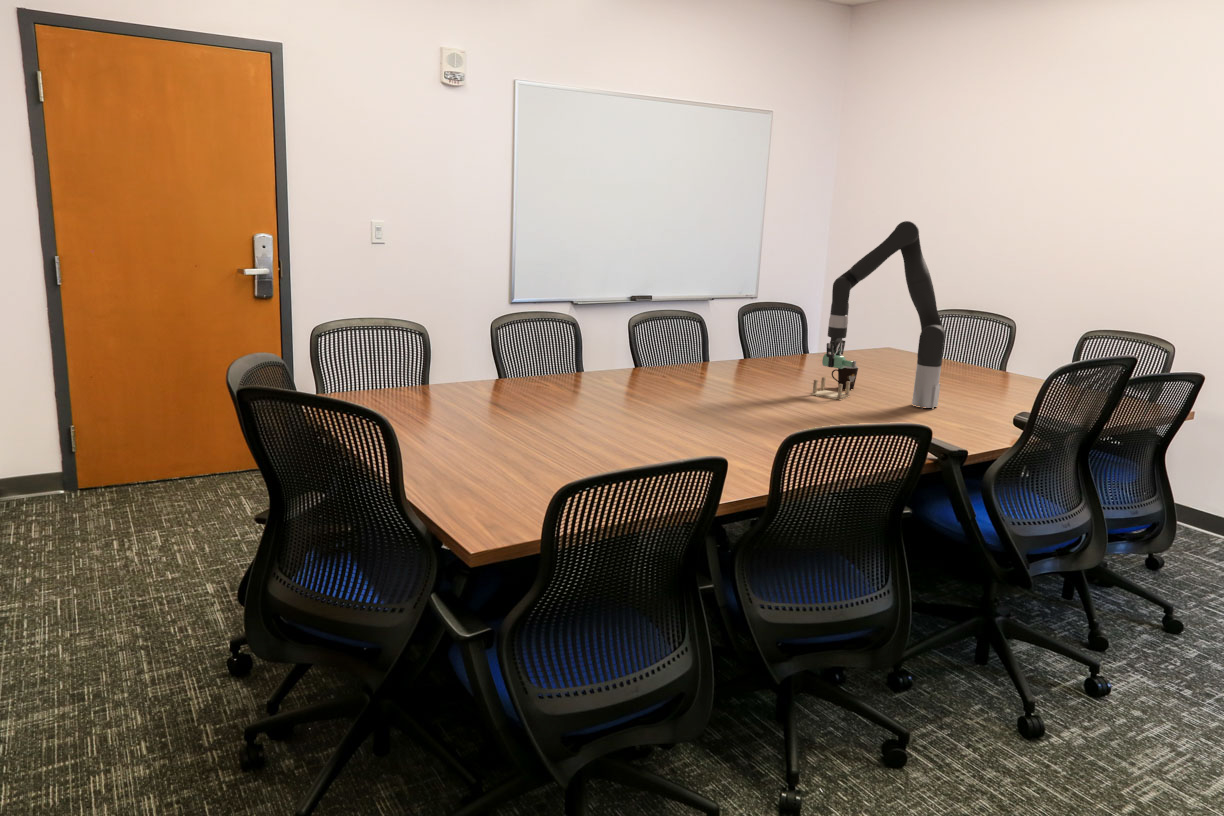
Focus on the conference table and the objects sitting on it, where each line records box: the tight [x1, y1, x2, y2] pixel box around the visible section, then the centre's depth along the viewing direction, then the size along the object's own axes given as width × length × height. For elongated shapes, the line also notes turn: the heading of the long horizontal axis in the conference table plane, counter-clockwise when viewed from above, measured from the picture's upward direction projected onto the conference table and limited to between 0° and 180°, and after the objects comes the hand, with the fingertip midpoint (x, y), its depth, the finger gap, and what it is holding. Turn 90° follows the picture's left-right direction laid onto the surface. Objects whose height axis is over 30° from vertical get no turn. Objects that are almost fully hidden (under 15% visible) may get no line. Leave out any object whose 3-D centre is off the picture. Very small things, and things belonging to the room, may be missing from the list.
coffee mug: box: [831, 365, 859, 391], centre depth 380 cm, size 12×9×10 cm
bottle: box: [821, 353, 857, 369], centre depth 360 cm, size 13×5×5 cm, turn 53°
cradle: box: [810, 376, 851, 400], centre depth 364 cm, size 13×10×6 cm
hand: (833, 366), depth 362 cm, fingers closed on bottle, 5 cm apart
